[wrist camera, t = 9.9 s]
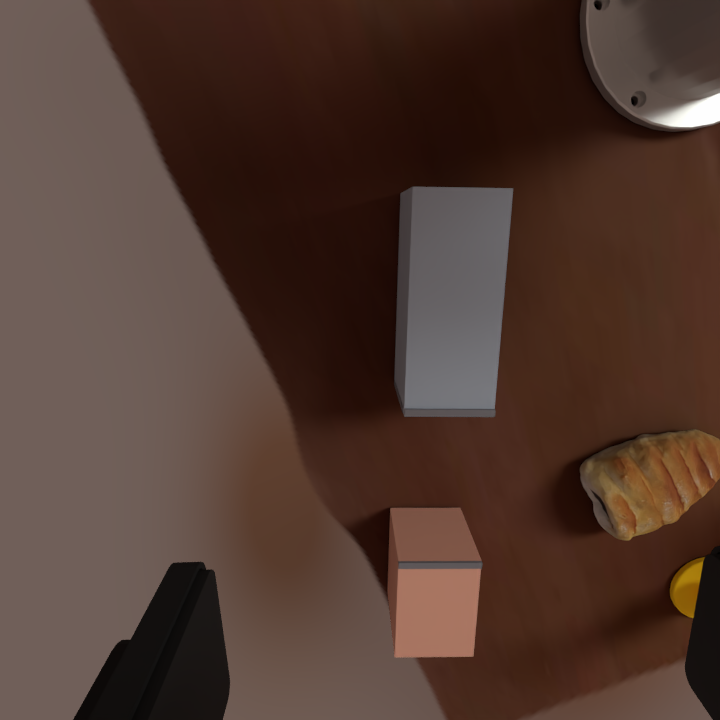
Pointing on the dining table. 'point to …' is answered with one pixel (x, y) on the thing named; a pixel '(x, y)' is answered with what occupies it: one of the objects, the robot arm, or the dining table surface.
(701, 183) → the dining table surface
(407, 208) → the block
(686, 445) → the pastry
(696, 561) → the candle
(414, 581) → the stub
